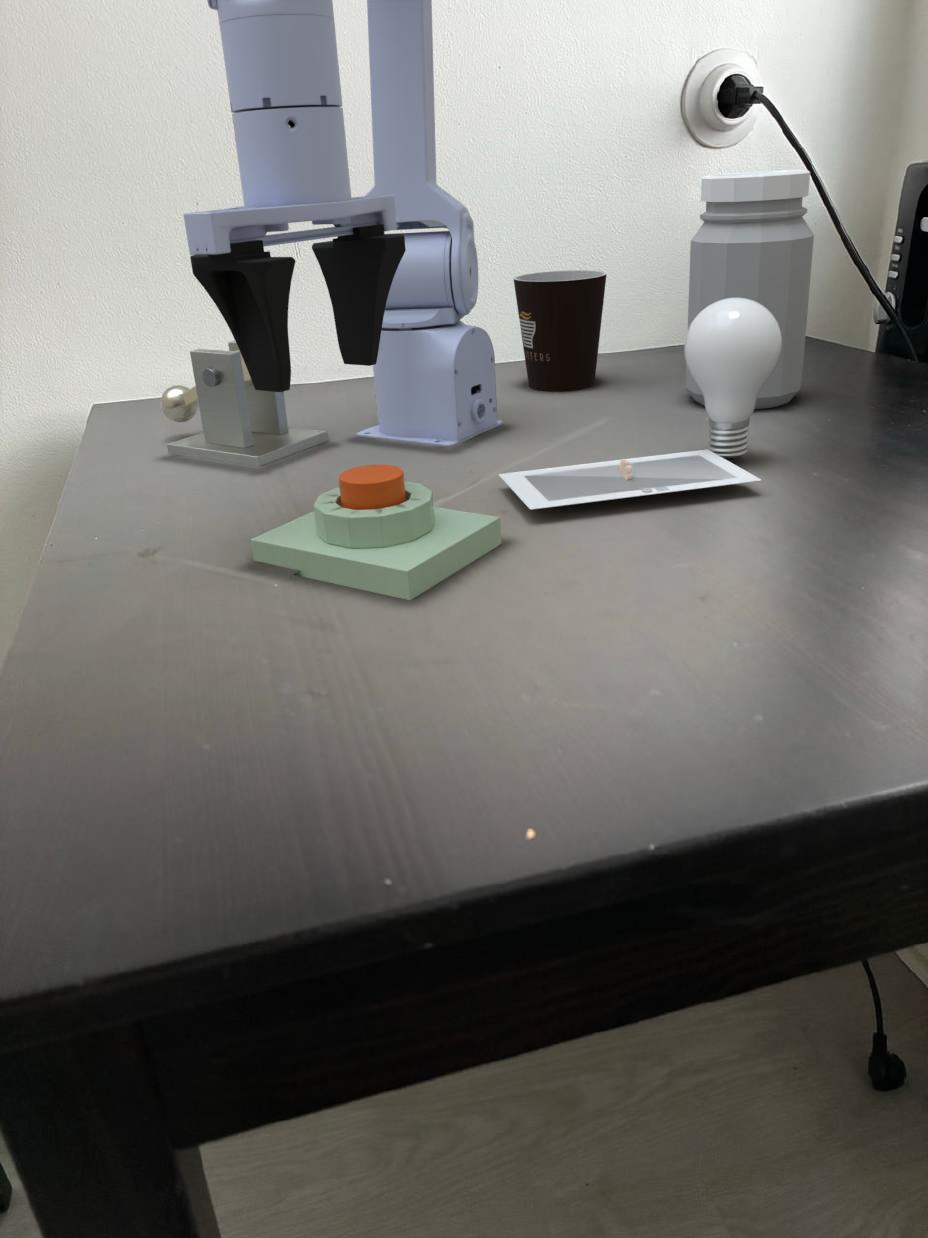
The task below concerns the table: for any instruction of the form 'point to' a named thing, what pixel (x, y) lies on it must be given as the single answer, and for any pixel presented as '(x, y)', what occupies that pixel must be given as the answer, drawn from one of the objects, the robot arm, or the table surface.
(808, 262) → the jar
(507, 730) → the table surface
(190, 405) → the lever
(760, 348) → the lightbulb
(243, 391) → the bracket
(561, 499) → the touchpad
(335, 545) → the button box
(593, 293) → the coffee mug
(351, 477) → the button
